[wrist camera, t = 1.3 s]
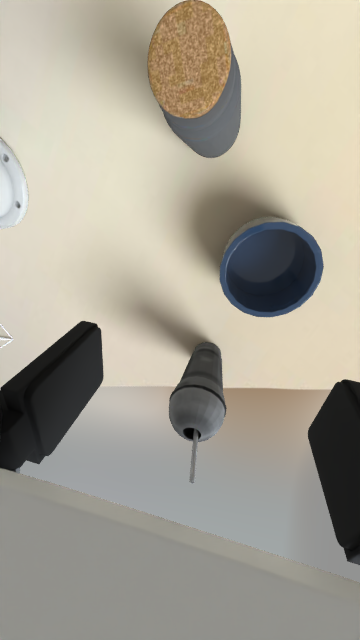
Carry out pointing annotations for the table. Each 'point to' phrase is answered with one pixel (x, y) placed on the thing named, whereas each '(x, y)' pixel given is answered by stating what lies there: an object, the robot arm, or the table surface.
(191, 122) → the bottle
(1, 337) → the geometric polyhedron
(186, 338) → the table surface
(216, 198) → the table surface
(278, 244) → the desk pot
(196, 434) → the beverage cup
